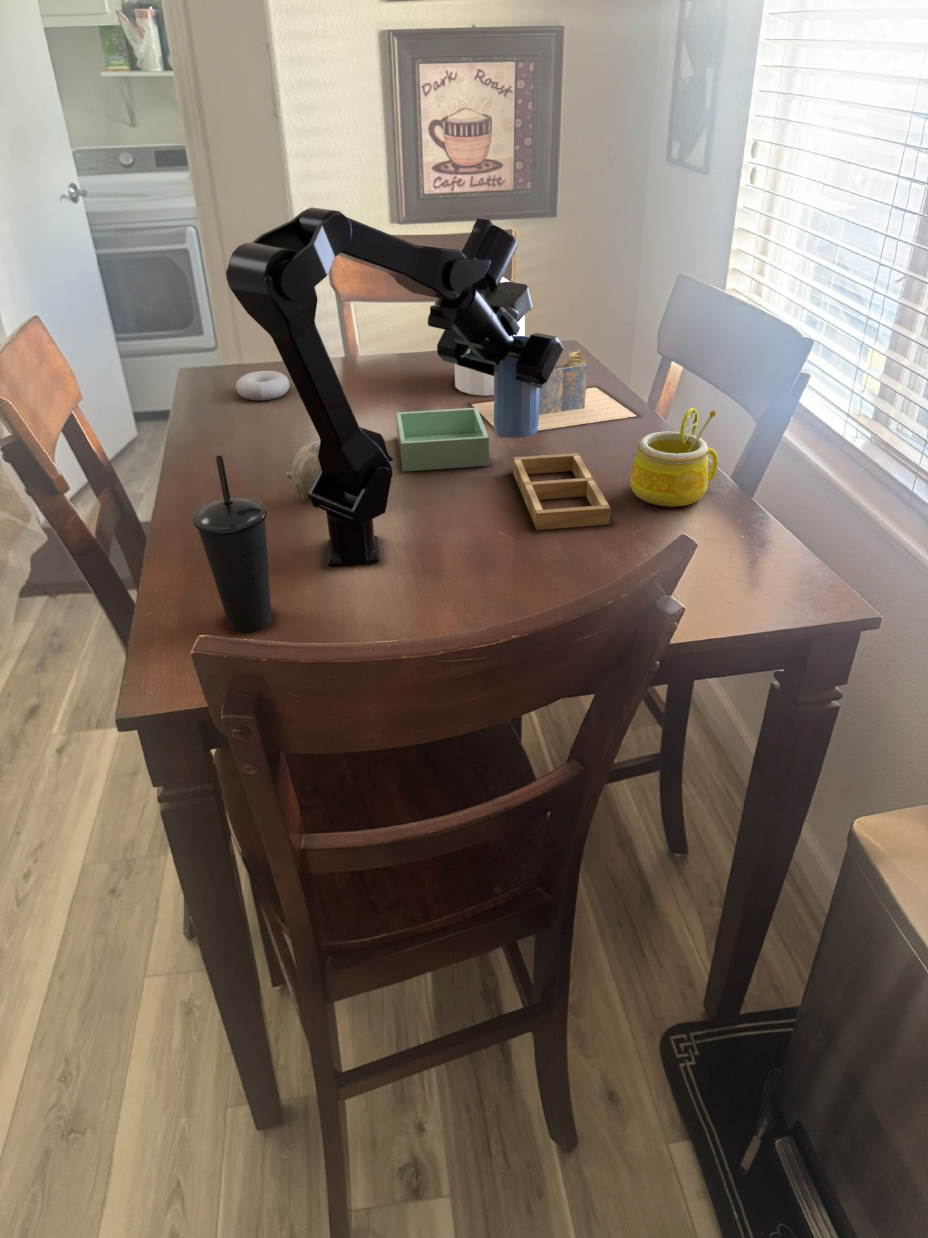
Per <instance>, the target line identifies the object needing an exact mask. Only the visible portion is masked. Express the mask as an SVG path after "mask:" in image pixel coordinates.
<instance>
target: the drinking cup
mask: <svg viewBox="0 0 928 1238" xmlns="http://www.w3.org/2000/svg"><path fill="white" fill-rule="evenodd" d="M215 461H216V466H217V472H218V477H219V482H220V487H221V492H222V497H223V498H220V499H217V500H214V501H211V502H209V503H206V504H205V505H203V506H201V507H199V508H198V509H197V510H196V511H195V512H194V514H193V516H192V523H193V526H194V527H195V528H196V529H197V531H198V533H199V536H200V539H201V542H202V546H203V549H204V552H205V555H206V558H207V562H208V564H209V568H210V571H211V573H212V576H213V580H214V583H215V586H216V589H217V592H218V595H219V599H220V603H221V605H222V608H223V611H224V613H225V617H226V620H227V623H228V627H230V628H231V630H233V631H235V632H238V633H253V632H257V631H260V630H262V629H265V628H266V627H267V626H269V625H270V623H271V622H272V603H271V602H272V601H271V588H270V587H271V586H270V573H269V557H268V541H267V528H266V518H267V516H268V509H267V507H266V505H265V504H264V503H263V502H261V501H260V500H257V499H253V498H249V497H231V494H230V489H229V484H228V479H227V473H226V468H225V463H224V456H222V455H216V456H215Z"/></svg>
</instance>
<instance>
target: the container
mask: <svg viewBox="0 0 928 1238" xmlns="http://www.w3.org/2000/svg"><path fill="white" fill-rule="evenodd" d="M506 281H508V282H511V281H510V280H509V279H507V278H505V277H504V276H503V277H502V279H501V281H500V282H506ZM525 318H526V314H525V315H524V316H523V317H522V319H521V320H520V321H519V322H517V323H518V325H519V326H520V327H521V328H520V330H519V332H518V334H517V335H514V336H525V327H526V326H525V322H526V321H525V320H526V319H525ZM454 387H455V388H456V389H457V390H458V391H459V392H461V393H466V394H468V395H474V396H483V397H484V396H494V376H491V375H488V374H485V373H482V372H478V371H475V370H472V369H469V368H465V367H462V366H459V365H457V364H455V363H454Z"/></svg>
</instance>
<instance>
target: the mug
mask: <svg viewBox="0 0 928 1238" xmlns="http://www.w3.org/2000/svg"><path fill="white" fill-rule="evenodd" d="M698 413H699V412H698V410H697V409H696V408H693V407H691V408H689V409H688V410H687V411H686V413H685V415H684V416H683V418H682V421H681V426H680V431H673V430H671V431H669V430H666V431H657V432H653V433H648V434H647V435H645V436H643V437H642V438H640V439H639V441H638V442H637V444H636V448H637V452H636V454H635V456H634V460H633V464H632V468H631V473H630V479H629V480H630V483H629V484H630V488H631V491H632V493H633V494H634V495H635V496H636V497H637V498H639V499H640V500H642V501H644V502H645V503H648V504H651V505H656V506H660V507H666V508H667V507H668V508H677V507H685V506H689V505H692V504H694V503H696V502H698V501H701V499H703V497H704V495H706V494H705V493H706V492H707V490H708V485H709V482H710V481H712V480H713V479H714V478H715V476H716V474H717V471H718V465H719V463H718V461H719V460H718V459H719V458H718V453H717V451H715V449H713V448H711V447H709V445H708V444H707V443H706V441H705V440H704V439H702V438H701V436H702V434H703V433H704V432H705V430H706V428H707V426H708V425H709V423H710V421H711V420H712V418H714V417H716V415H717V414H716V413H717V411H716V410H715V409H713V410H711V411H710V412H709V417H708V418H707V420H706V421H705V424H704V425H703V426H702V428H701V430H700V431H699V433H698V434H697V436H696V435H695V434H696V430H697V429H698V428H697V427H698V422H699V414H698ZM691 419H692V421H691ZM686 424H687V425H686ZM691 428H692V429H691ZM690 429H691V431H690ZM708 454H709V455H710V456H711V468H710V472H709V457H708Z"/></svg>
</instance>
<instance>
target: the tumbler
mask: <svg viewBox="0 0 928 1238" xmlns="http://www.w3.org/2000/svg"><path fill="white" fill-rule="evenodd" d="M530 336H531V335H524V336H513V339H518V340H522V341H527V340H528V339H529V337H530ZM517 361H518V359H517V358H513V357H509V356H506V358H505V360H504V361H503V362H500V363H499V365H498V366H497V365H494V395H493V401H494V426H493V431H494V433H495V434H497V435H498V436H501V437H505V438H513V439H518V438H519V439H520V438H526V437H527V438H528V437H532V436H534V435H535V434H537V433H538V431H539V430H538V420H539V389H540V388H537V387H535V386H532V385H529V384H526V383H524V382H521V381H518V380H516V379H515V378H516V376H517V373H516V363H517Z"/></svg>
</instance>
